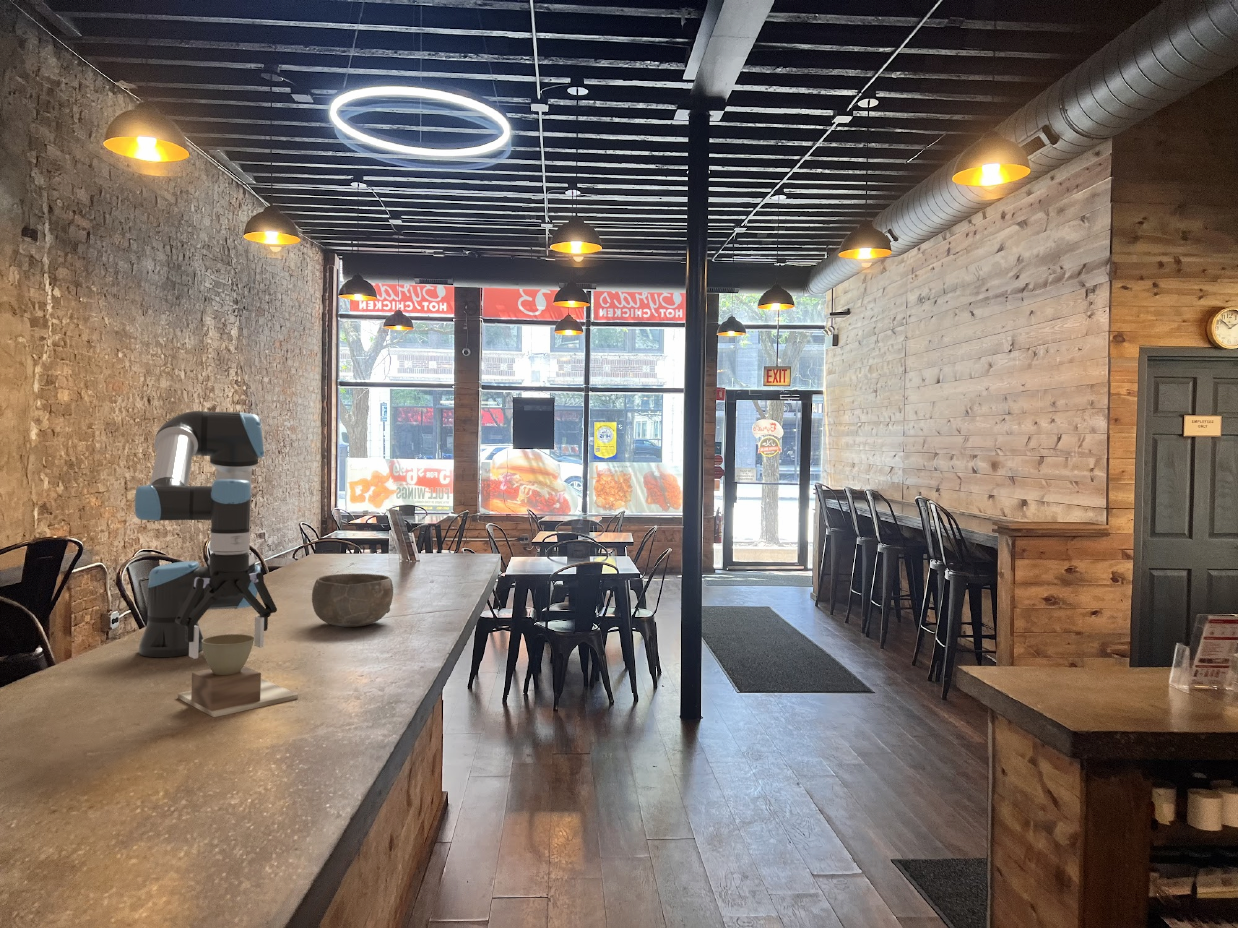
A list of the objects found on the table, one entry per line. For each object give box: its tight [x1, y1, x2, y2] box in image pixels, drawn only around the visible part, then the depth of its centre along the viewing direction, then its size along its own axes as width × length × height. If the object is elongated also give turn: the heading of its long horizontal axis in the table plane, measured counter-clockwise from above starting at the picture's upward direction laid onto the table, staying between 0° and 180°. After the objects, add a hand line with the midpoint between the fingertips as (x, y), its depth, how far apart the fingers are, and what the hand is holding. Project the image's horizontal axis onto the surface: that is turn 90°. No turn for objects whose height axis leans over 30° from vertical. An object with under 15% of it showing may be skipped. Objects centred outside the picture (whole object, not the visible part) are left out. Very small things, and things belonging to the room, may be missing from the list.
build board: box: [177, 677, 299, 718], centre depth 176 cm, size 18×18×1 cm
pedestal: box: [191, 665, 262, 711], centre depth 170 cm, size 10×10×6 cm
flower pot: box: [202, 633, 254, 675], centre depth 171 cm, size 10×10×7 cm
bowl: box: [311, 573, 394, 628], centre depth 251 cm, size 24×24×15 cm
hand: (227, 651), depth 170 cm, fingers open, 13 cm apart
